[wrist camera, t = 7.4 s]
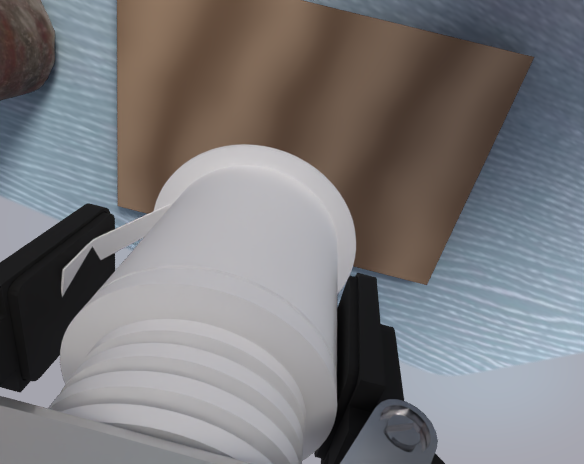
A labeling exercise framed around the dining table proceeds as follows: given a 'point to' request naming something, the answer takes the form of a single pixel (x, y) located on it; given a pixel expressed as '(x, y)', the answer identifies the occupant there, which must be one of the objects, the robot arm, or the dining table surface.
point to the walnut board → (316, 110)
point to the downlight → (219, 311)
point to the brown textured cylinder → (24, 47)
